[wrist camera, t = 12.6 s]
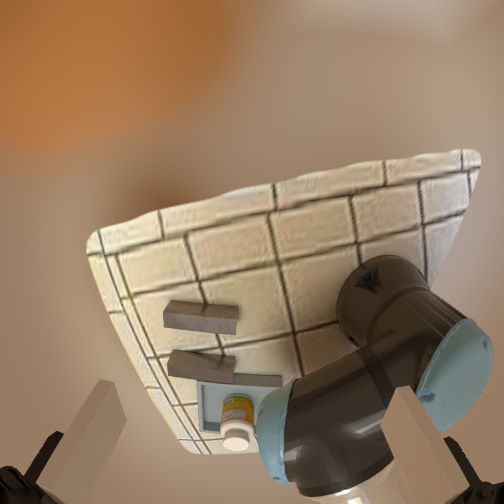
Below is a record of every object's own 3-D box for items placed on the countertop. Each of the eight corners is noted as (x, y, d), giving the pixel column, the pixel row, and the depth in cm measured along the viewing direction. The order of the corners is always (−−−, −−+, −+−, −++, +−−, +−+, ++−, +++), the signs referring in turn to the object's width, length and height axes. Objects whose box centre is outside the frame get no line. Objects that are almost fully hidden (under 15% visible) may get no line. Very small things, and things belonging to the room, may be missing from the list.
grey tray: (280, 375, 44) (281, 387, 41) (271, 425, 47) (271, 436, 44) (199, 369, 43) (196, 381, 41) (201, 420, 47) (199, 431, 44)
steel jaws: (238, 306, 40) (236, 319, 37) (234, 368, 43) (232, 383, 39) (170, 300, 40) (163, 311, 36) (174, 361, 43) (168, 375, 39)
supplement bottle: (252, 414, 45) (252, 454, 36) (223, 411, 45) (218, 452, 36) (255, 394, 44) (255, 436, 35) (223, 391, 44) (218, 433, 34)
